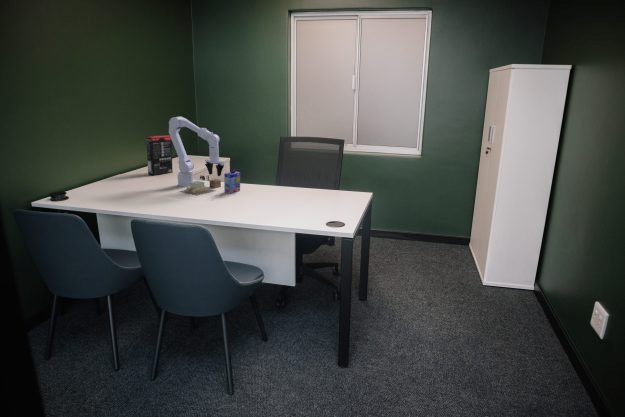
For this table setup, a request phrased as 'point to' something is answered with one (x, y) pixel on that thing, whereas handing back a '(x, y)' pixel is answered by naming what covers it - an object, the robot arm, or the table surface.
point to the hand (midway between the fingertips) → (214, 175)
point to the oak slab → (197, 189)
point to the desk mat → (197, 193)
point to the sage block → (196, 184)
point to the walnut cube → (215, 183)
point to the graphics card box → (159, 154)
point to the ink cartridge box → (232, 182)
